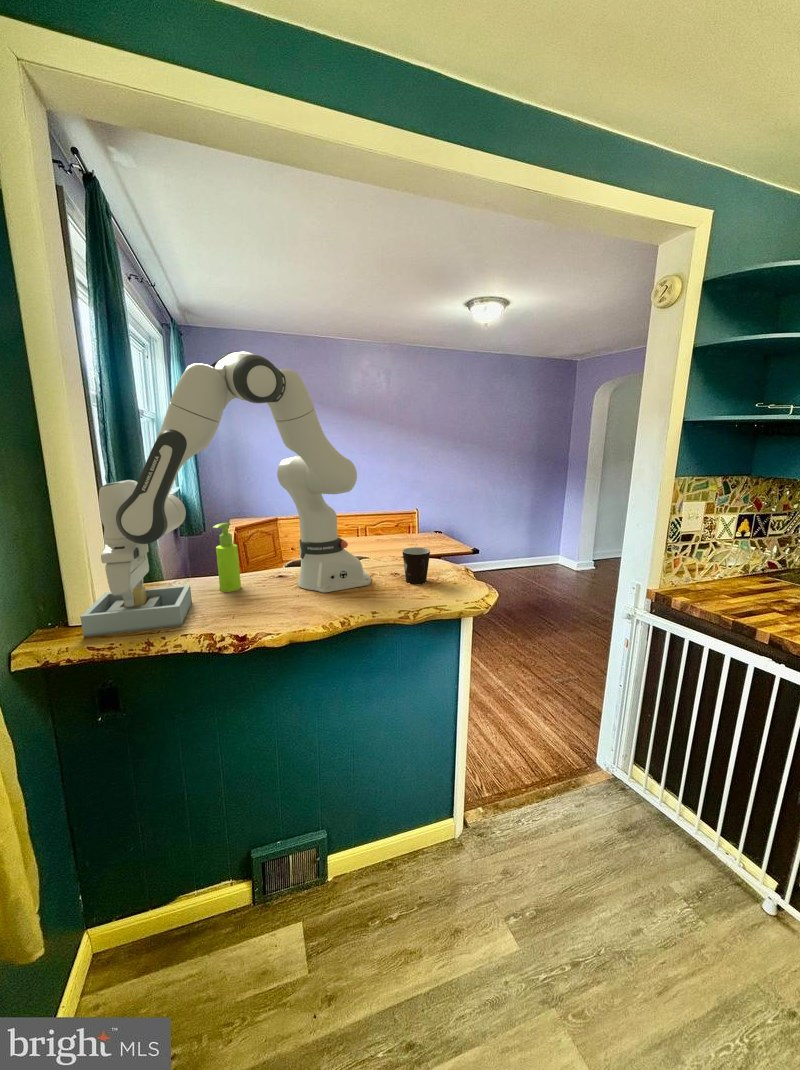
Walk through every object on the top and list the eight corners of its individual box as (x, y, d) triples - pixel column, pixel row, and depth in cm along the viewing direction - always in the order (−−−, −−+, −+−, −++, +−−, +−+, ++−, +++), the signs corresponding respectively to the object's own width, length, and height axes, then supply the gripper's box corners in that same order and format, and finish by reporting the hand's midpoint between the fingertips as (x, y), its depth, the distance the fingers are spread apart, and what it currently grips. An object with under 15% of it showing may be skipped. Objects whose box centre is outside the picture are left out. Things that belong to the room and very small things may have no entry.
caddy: (192, 602, 116) (190, 585, 115) (181, 625, 102) (179, 606, 100) (107, 611, 111) (105, 592, 110) (83, 637, 96) (80, 616, 95)
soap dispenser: (213, 591, 125) (206, 525, 121) (229, 584, 131) (223, 520, 127) (229, 593, 123) (222, 526, 119) (245, 586, 129) (239, 522, 125)
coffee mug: (404, 576, 138) (404, 547, 136) (430, 577, 137) (431, 547, 135) (399, 588, 127) (399, 556, 125) (427, 589, 126) (428, 557, 124)
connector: (147, 608, 111) (144, 586, 109) (143, 614, 107) (140, 591, 106) (130, 610, 109) (127, 588, 108) (125, 616, 106) (122, 593, 104)
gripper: (124, 539, 113) (132, 588, 116) (97, 558, 94) (107, 616, 97) (151, 537, 114) (158, 586, 117) (130, 555, 95) (138, 613, 98)
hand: (134, 600), depth 107 cm, fingers open, 6 cm apart
